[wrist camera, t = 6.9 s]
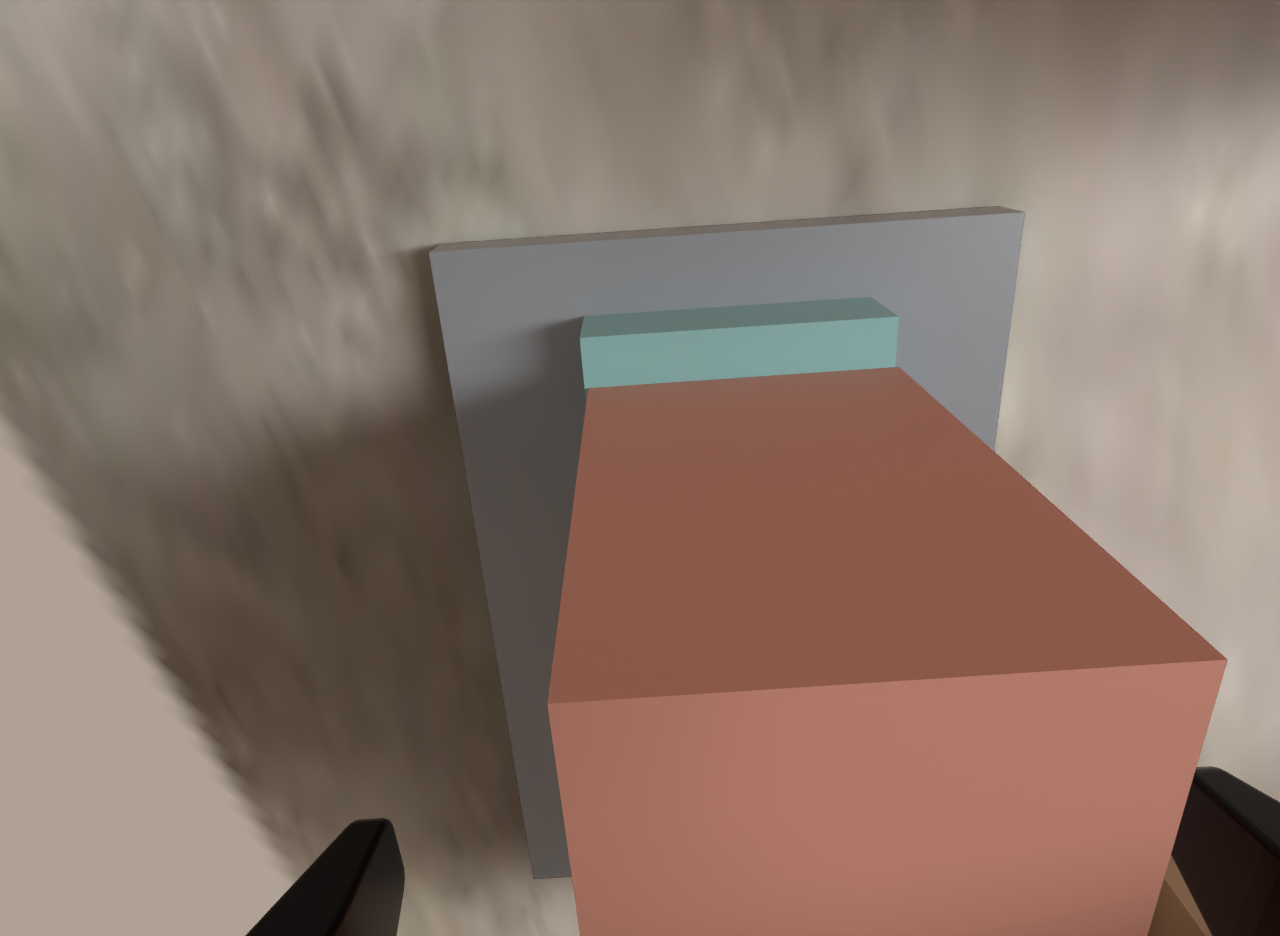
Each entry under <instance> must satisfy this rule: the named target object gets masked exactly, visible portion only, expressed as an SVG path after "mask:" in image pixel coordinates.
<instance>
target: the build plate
mask: <svg viewBox="0 0 1280 936" xmlns="http://www.w3.org/2000/svg"><path fill="white" fill-rule="evenodd" d="M1024 217H1025V212H1022V211H1018V210H1014V209H1009V208H1005V207H1000V206H994V207H979V208H964V209H950V210H935V211H920V212H905V213H890V214H875V215H861V216H846V217H831V218H816V219H801V220H786V221H771V222H757V223H742V224H727V225H712V226H697V227H682V228H667V229H653V230H638V231H623V232H608V233H593V234H578V235H564V236H549V237H534V238H519V239H504V240H489V241H474V242H460V243H445V244H440V245H439V246H437V247H436V248H434V249H433V250H431V251H430V252H429V257H430V263H431V269H432V275H433V281H434V287H435V293H436V299H437V305H438V311H439V317H440V323H441V329H442V335H443V341H444V347H445V353H446V359H447V365H448V371H449V377H450V383H451V389H452V395H453V401H454V407H455V413H456V419H457V425H458V431H459V437H460V443H461V449H462V455H463V461H464V466H465V472H466V478H467V484H468V490H469V496H470V502H471V508H472V514H473V520H474V526H475V532H476V538H477V544H478V550H479V556H480V562H481V568H482V574H483V580H484V586H485V592H486V598H487V604H488V610H489V616H490V622H491V628H492V634H493V640H494V646H495V652H496V658H497V664H498V670H499V676H500V682H501V688H502V694H503V700H504V706H505V712H506V718H507V724H508V730H509V736H510V742H511V748H512V754H513V760H514V766H515V772H516V778H517V784H518V790H519V796H520V802H521V808H522V814H523V820H524V826H525V832H526V838H527V844H528V850H529V856H530V862H531V868H532V874H533V879H544V878H560V877H572V874H571V867H570V860H569V853H568V846H567V839H566V832H565V825H564V818H563V811H562V804H561V797H560V790H559V782H558V775H557V768H556V761H555V754H554V747H553V740H552V733H551V726H550V719H549V712H548V705H547V703H548V695H549V687H550V680H551V672H552V664H553V656H554V649H555V641H556V633H557V626H558V618H559V610H560V602H561V595H562V587H563V579H564V572H565V564H566V556H567V548H568V541H569V533H570V525H571V518H572V510H573V502H574V494H575V487H576V479H577V471H578V464H579V456H580V448H581V440H582V433H583V425H584V417H585V410H586V402H587V394H588V388H597V387H612V386H626V385H641V384H656V383H670V382H685V381H699V380H714V379H729V378H743V377H758V376H773V375H787V374H802V373H816V372H831V371H846V370H860V369H875V368H890V367H900V368H901V369H902V370H903V371H904V372H905V373H907V374H908V375H909V376H910V377H911V378H912V379H913V380H914V381H916V382H917V383H918V384H919V385H920V386H921V387H922V388H923V389H925V390H926V391H927V392H928V393H929V394H930V395H931V396H932V397H933V398H935V399H936V400H937V401H938V402H939V403H940V404H941V405H942V406H944V407H945V408H946V409H947V410H948V411H949V412H950V413H951V414H953V415H954V416H955V417H956V418H957V419H958V420H959V421H960V422H962V423H963V424H964V425H965V426H966V427H967V428H968V429H969V430H971V431H972V432H973V433H974V434H975V435H976V436H977V437H978V438H979V439H981V440H982V441H983V442H984V443H985V444H986V445H987V446H988V447H990V448H991V449H992V450H993V451H994V449H995V441H996V433H997V425H998V418H999V410H1000V402H1001V395H1002V387H1003V379H1004V371H1005V364H1006V356H1007V348H1008V340H1009V333H1010V325H1011V317H1012V310H1013V302H1014V294H1015V286H1016V279H1017V271H1018V263H1019V256H1020V248H1021V240H1022V232H1023V225H1024Z"/></svg>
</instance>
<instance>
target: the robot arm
mask: <svg viewBox="0 0 1280 936" xmlns="http://www.w3.org/2000/svg"><path fill="white" fill-rule="evenodd" d="M1171 856H1172V858H1173V860H1174V862H1175V864H1176V866H1177V868H1178V870H1179V872H1180V874H1181V876H1182V878H1183V880H1184V882H1185V884H1186V886H1187V887H1188V889H1189V891H1190V893H1191V895H1192V897H1193V899H1194V901H1195V903H1196V905H1197V907H1198V909H1199V911H1200V913H1201V915H1202V917H1203V919H1204V921H1205V923H1206V925H1207V927H1208V929H1209V931H1210V933H1211V935H1212V936H1280V802H1278V801H1277V800H1275V799H1273V798H1271V797H1270V796H1268V795H1266V794H1264V793H1263V792H1261V791H1259V790H1257V789H1256V788H1254V787H1252V786H1250V785H1249V784H1247V783H1245V782H1243V781H1242V780H1240V779H1238V778H1236V777H1235V776H1233V775H1231V774H1229V773H1228V772H1226V771H1224V770H1222V769H1219V768H1217V767H1196V770H1195V773H1194V777H1193V780H1192V784H1191V787H1190V791H1189V794H1188V797H1187V801H1186V804H1185V808H1184V811H1183V815H1182V818H1181V822H1180V825H1179V828H1178V832H1177V835H1176V839H1175V842H1174V846H1173V849H1172V852H1171ZM404 883H405V874H404V866H403V862H402V858H401V854H400V851H399V847H398V843H397V839H396V835H395V831H394V828H393V825H392V823H391V822H390V820H388V819H385V818H379V819H363V820H356V821H354V822H352V823H351V824H349V825H348V826H347V827H346V828H345V829H344V831H343V832H342V833H341V834H340V835H339V836H338V837H337V838H336V839H335V840H334V841H333V842H332V843H331V844H330V846H329V847H328V848H327V849H326V850H325V851H324V852H323V853H322V854H321V855H320V856H319V857H318V858H317V859H316V861H315V862H314V863H313V864H312V865H311V866H310V867H309V868H308V869H307V870H306V871H305V872H304V873H303V875H302V876H301V877H300V878H299V879H298V880H297V881H296V882H295V883H294V884H293V885H292V886H291V887H290V888H289V890H288V891H287V892H286V893H285V894H284V895H283V896H282V897H281V898H280V899H279V900H278V902H276V904H275V905H274V906H273V907H272V908H271V909H270V910H269V911H268V912H267V913H266V914H265V915H264V917H262V919H261V920H260V921H259V922H258V923H257V924H256V925H255V926H254V927H253V928H252V929H251V930H250V931H249V933H248V934H247V935H246V936H396V935H397V929H398V923H399V917H400V911H401V904H402V898H403V892H404Z"/></svg>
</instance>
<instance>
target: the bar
mask: <svg viewBox="0 0 1280 936" xmlns="http://www.w3.org/2000/svg"><path fill="white" fill-rule="evenodd" d="M1226 663H1227V659H1226V658H1225V657H1224V656H1223V655H1222V654H1221V653H1220V652H1218V651H1217V650H1216V649H1215V648H1214V647H1213V646H1212V645H1211V644H1209V643H1208V642H1207V641H1206V640H1205V639H1204V638H1203V637H1202V636H1200V635H1199V634H1198V633H1197V632H1196V631H1195V630H1194V629H1193V628H1192V627H1190V626H1189V625H1188V624H1187V623H1186V622H1185V621H1184V620H1183V619H1181V618H1180V617H1179V616H1178V615H1177V614H1176V613H1175V612H1174V611H1172V610H1171V609H1170V608H1169V607H1168V606H1167V605H1166V604H1165V603H1163V602H1162V601H1161V600H1160V599H1159V598H1158V597H1157V596H1156V595H1154V594H1153V593H1152V592H1151V591H1150V590H1149V589H1148V588H1147V587H1146V586H1144V585H1143V584H1142V583H1141V582H1140V581H1139V580H1138V579H1137V578H1135V577H1134V576H1133V575H1132V574H1131V573H1130V572H1129V571H1128V570H1126V569H1125V568H1124V567H1123V566H1122V565H1121V564H1120V563H1119V562H1117V561H1116V560H1115V559H1114V558H1113V557H1112V556H1111V555H1110V554H1108V553H1107V552H1106V551H1105V550H1104V549H1103V548H1102V547H1101V546H1100V545H1098V544H1097V543H1096V542H1095V541H1094V540H1093V539H1092V538H1091V537H1089V536H1088V535H1087V534H1086V533H1085V532H1084V531H1083V530H1082V529H1080V528H1079V527H1078V526H1077V525H1076V524H1075V523H1074V522H1073V521H1071V520H1070V519H1069V518H1068V517H1067V516H1066V515H1065V514H1064V513H1063V512H1061V511H1060V510H1059V509H1058V508H1057V507H1056V506H1055V505H1054V504H1052V503H1051V502H1050V501H1049V500H1048V499H1047V498H1046V497H1045V496H1043V495H1042V494H1041V493H1040V492H1039V491H1038V490H1037V489H1036V488H1034V487H1033V486H1032V485H1031V484H1030V483H1029V482H1028V481H1027V480H1025V479H1024V478H1023V477H1022V476H1021V475H1020V474H1019V473H1018V472H1017V471H1015V470H1014V469H1013V468H1012V467H1011V466H1010V465H1009V464H1008V463H1006V462H1005V461H1004V460H1003V459H1002V458H1001V457H1000V456H999V455H997V454H996V453H995V452H994V451H993V450H992V449H991V448H990V447H988V446H987V445H986V444H985V443H984V442H983V441H982V440H981V439H979V438H978V437H977V436H976V435H975V434H974V433H973V432H972V431H971V430H969V429H968V428H967V427H966V426H965V425H964V424H963V423H962V422H960V421H959V420H958V419H957V418H956V417H955V416H954V415H953V414H951V413H950V412H949V411H948V410H947V409H946V408H945V407H944V406H942V405H941V404H940V403H939V402H938V401H937V400H936V399H935V398H933V397H932V396H931V395H930V394H929V393H928V392H927V391H926V390H925V389H923V388H922V387H921V386H920V385H919V384H918V383H917V382H916V381H914V380H913V379H912V378H911V377H910V376H909V375H908V374H907V373H905V372H904V371H903V370H902V369H901V368H900V367H890V368H875V369H860V370H846V371H831V372H816V373H802V374H787V375H773V376H758V377H743V378H729V379H714V380H699V381H685V382H670V383H656V384H641V385H626V386H612V387H597V388H588V394H587V402H586V410H585V417H584V425H583V433H582V440H581V448H580V456H579V464H578V471H577V479H576V487H575V494H574V502H573V510H572V518H571V525H570V533H569V541H568V548H567V556H566V564H565V572H564V579H563V587H562V595H561V602H560V610H559V618H558V626H557V633H556V641H555V649H554V656H553V664H552V672H551V680H550V687H549V695H548V703H547V705H548V712H549V719H550V726H551V733H552V740H553V747H554V754H555V761H556V768H557V775H558V782H559V790H560V797H561V804H562V811H563V818H564V825H565V832H566V839H567V846H568V853H569V860H570V867H571V874H572V881H573V888H574V895H575V902H576V909H577V916H578V923H579V930H580V936H1147V935H1148V932H1149V928H1150V925H1151V921H1152V918H1153V914H1154V911H1155V908H1156V904H1157V901H1158V897H1159V894H1160V890H1161V887H1162V883H1163V880H1164V877H1165V873H1166V870H1167V866H1168V863H1169V859H1170V856H1171V852H1172V849H1173V846H1174V842H1175V839H1176V835H1177V832H1178V828H1179V825H1180V822H1181V818H1182V815H1183V811H1184V808H1185V804H1186V801H1187V797H1188V794H1189V791H1190V787H1191V784H1192V780H1193V777H1194V773H1195V770H1196V766H1197V763H1198V760H1199V756H1200V753H1201V749H1202V746H1203V742H1204V739H1205V735H1206V732H1207V729H1208V725H1209V722H1210V718H1211V715H1212V711H1213V708H1214V704H1215V701H1216V698H1217V694H1218V691H1219V687H1220V684H1221V680H1222V677H1223V673H1224V670H1225V667H1226Z"/></svg>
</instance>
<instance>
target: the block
mask: <svg viewBox="0 0 1280 936" xmlns="http://www.w3.org/2000/svg"><path fill="white" fill-rule="evenodd" d="M1147 936H1212V935H1211V933H1210V931H1209V929H1208V927H1207V925H1206V923H1205V921H1204V919H1203V917H1202V915H1201V913H1200V911H1199V909H1198V907H1197V905H1196V903H1195V901H1194V899H1193V897H1192V895H1191V893H1190V891H1189V889H1188V887H1187V886H1186V884H1185V882H1184V880H1183V878H1182V876H1181V874H1180V872H1179V870H1178V868H1177V866H1176V864H1175V862H1174V860H1173V858H1172V856H1170V859H1169V863H1168V866H1167V870H1166V873H1165V877H1164V880H1163V883H1162V887H1161V890H1160V894H1159V897H1158V901H1157V904H1156V908H1155V911H1154V914H1153V918H1152V921H1151V925H1150V928H1149V932H1148V935H1147Z"/></svg>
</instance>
